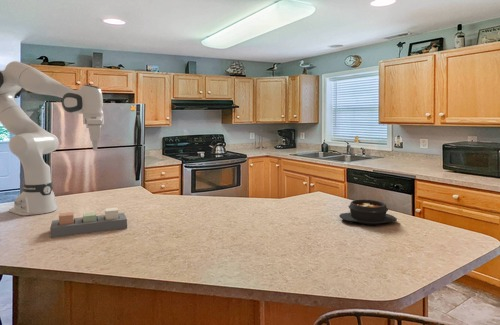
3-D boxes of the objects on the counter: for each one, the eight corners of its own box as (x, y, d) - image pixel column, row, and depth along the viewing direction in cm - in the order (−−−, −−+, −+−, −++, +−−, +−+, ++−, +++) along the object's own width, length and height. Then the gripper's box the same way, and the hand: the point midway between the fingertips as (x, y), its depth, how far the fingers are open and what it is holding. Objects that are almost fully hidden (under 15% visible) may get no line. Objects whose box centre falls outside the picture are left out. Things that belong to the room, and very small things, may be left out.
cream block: (106, 223, 145) (105, 211, 144) (105, 220, 149) (104, 208, 149) (118, 221, 147) (118, 210, 146) (117, 218, 151) (117, 207, 151)
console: (50, 238, 134) (50, 228, 133) (52, 229, 144) (52, 220, 143) (127, 228, 146) (126, 219, 145) (124, 221, 156) (124, 212, 155)
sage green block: (83, 228, 141) (82, 216, 141) (83, 225, 146) (82, 213, 145) (97, 226, 144) (96, 215, 143) (96, 223, 148) (95, 212, 147)
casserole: (345, 227, 148) (345, 208, 147) (334, 215, 166) (335, 198, 165) (403, 227, 148) (405, 208, 147) (387, 215, 166) (388, 198, 165)
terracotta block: (59, 228, 138) (58, 216, 137) (60, 225, 142) (59, 213, 141) (73, 226, 140) (73, 214, 139) (74, 223, 144) (73, 211, 144)
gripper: (85, 120, 169) (87, 148, 171) (86, 120, 151) (88, 152, 152) (99, 120, 172) (101, 148, 173) (102, 120, 153) (103, 151, 155)
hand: (95, 150), depth 163 cm, fingers closed
